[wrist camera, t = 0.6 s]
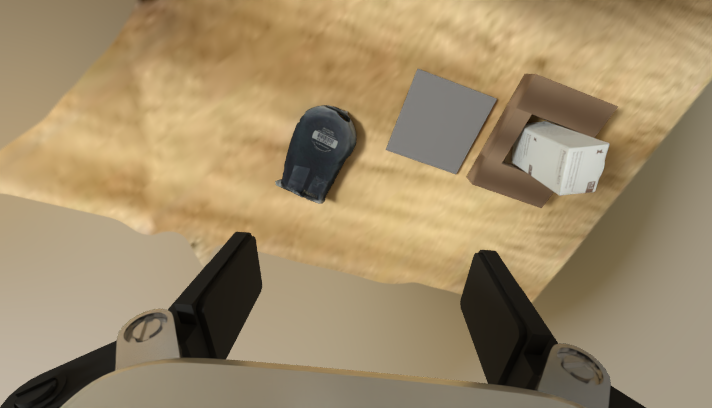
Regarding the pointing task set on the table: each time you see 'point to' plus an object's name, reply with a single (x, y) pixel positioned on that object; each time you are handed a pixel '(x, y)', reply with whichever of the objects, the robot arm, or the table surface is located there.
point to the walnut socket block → (527, 100)
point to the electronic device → (317, 152)
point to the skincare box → (560, 157)
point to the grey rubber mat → (439, 121)
